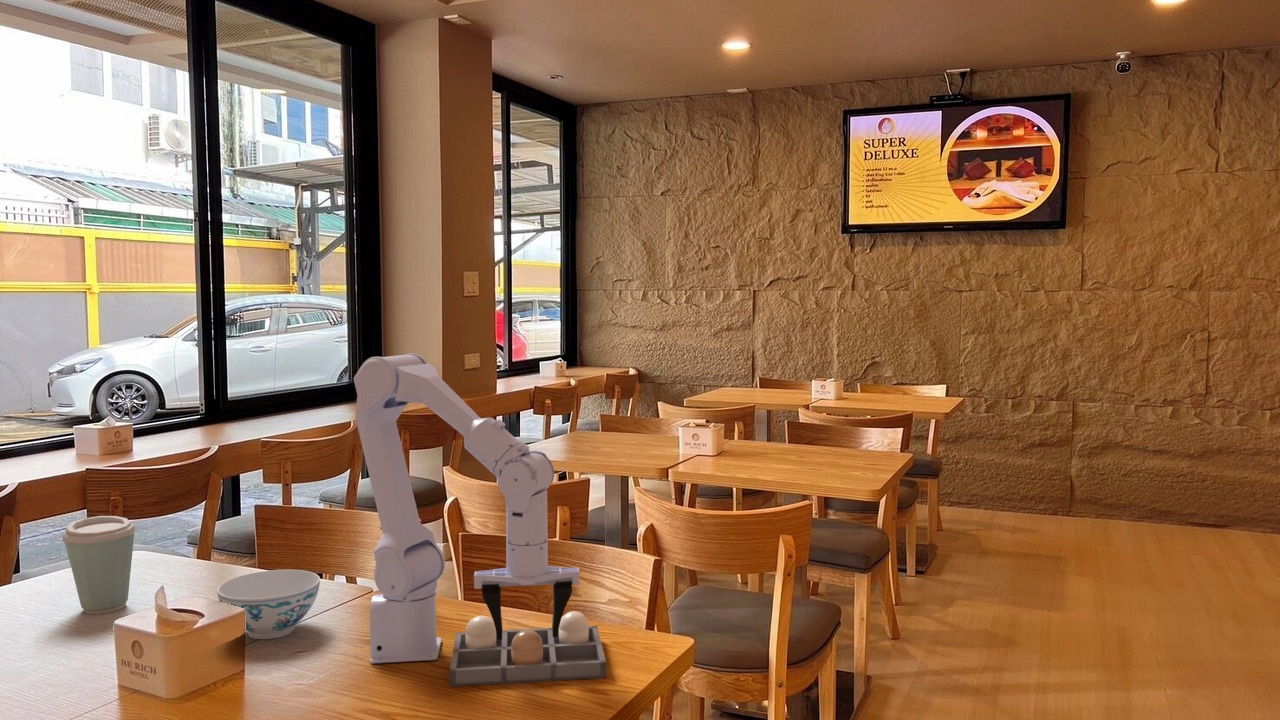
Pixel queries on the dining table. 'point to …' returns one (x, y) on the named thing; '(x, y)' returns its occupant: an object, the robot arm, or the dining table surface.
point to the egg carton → (492, 664)
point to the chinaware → (271, 599)
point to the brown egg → (527, 648)
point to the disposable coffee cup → (101, 561)
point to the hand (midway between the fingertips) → (527, 635)
